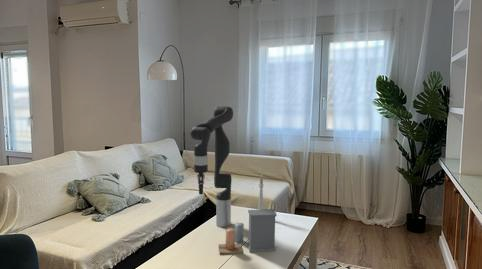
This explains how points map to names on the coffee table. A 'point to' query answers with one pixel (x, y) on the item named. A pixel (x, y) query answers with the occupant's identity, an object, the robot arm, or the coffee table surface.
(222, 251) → the pad
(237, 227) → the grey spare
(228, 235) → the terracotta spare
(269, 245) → the post
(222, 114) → the robot arm
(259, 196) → the candlestick
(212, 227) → the coffee table surface
